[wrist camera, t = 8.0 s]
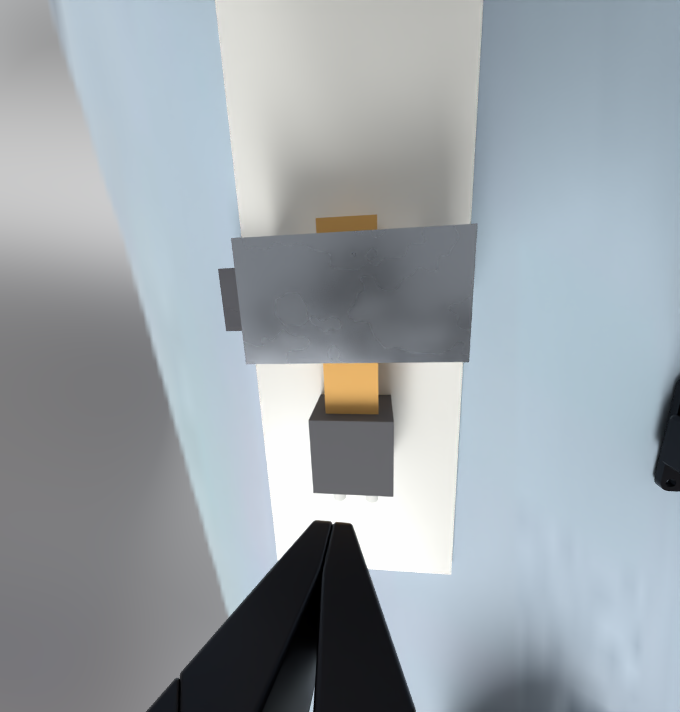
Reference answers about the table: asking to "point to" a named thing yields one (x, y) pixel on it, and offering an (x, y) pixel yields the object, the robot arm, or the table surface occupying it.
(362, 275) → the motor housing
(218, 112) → the table surface
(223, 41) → the mount plate
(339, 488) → the plug
